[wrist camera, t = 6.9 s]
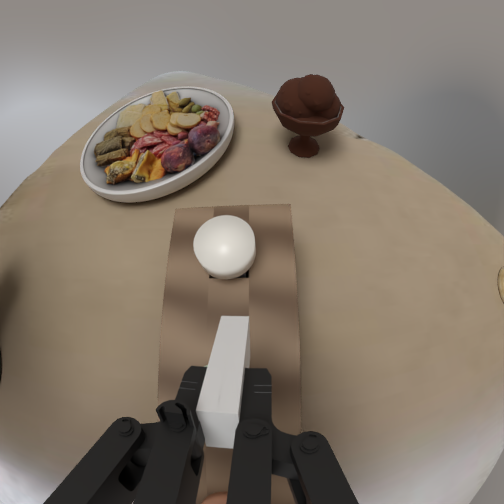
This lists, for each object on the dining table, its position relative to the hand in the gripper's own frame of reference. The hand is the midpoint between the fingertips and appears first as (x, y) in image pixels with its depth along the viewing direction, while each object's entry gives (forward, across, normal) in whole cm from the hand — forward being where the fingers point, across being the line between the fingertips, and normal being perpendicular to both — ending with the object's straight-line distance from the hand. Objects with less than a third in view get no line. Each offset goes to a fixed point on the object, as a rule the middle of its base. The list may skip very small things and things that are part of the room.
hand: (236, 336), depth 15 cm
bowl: (+38, -19, +13) cm, 44 cm away
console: (+10, -1, -15) cm, 18 cm away
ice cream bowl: (+36, +8, +12) cm, 39 cm away
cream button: (+13, -2, -1) cm, 13 cm away
